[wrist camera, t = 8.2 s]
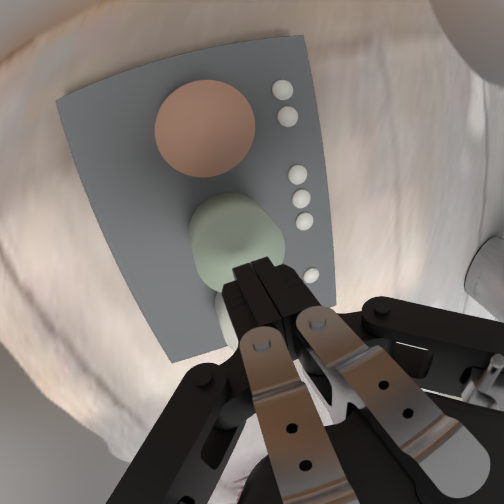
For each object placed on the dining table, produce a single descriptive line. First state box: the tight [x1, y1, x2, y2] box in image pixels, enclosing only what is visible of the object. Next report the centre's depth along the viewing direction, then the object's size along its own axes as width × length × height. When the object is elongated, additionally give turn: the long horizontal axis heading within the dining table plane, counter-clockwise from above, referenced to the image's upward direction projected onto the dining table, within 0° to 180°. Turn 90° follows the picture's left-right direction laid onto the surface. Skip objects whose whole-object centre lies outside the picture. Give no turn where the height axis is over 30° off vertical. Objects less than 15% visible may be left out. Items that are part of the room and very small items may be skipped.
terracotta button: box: [155, 80, 255, 177], centre depth 14 cm, size 4×4×3 cm
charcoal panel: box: [56, 35, 336, 363], centre depth 19 cm, size 14×20×2 cm
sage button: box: [189, 193, 285, 293], centre depth 16 cm, size 4×4×3 cm
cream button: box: [214, 292, 238, 351], centre depth 20 cm, size 4×4×3 cm
